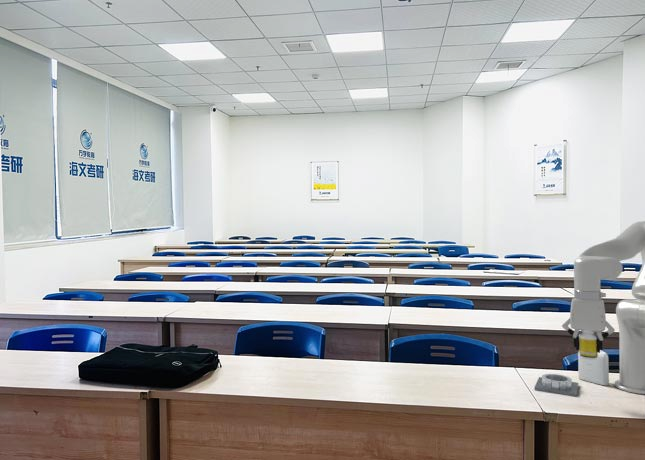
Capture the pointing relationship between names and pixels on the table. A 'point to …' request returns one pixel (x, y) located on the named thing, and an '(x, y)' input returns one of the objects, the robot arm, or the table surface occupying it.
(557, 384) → the ring collar block
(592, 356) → the supplement bottle
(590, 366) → the photo printer
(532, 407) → the table surface
